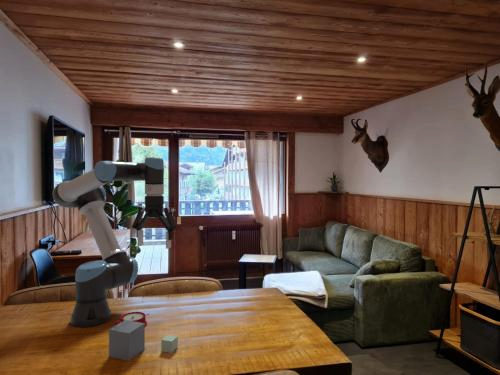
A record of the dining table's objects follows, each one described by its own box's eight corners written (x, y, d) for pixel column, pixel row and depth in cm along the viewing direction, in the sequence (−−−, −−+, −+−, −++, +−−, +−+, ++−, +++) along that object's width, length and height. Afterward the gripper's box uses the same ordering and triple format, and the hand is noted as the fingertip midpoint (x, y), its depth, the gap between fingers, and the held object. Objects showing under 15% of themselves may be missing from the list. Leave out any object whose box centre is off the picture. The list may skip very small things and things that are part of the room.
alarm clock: (153, 312, 139) (134, 318, 125) (151, 328, 138) (131, 336, 124) (130, 310, 141) (108, 315, 127) (128, 325, 140) (106, 333, 126)
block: (161, 351, 115) (161, 339, 114) (167, 345, 118) (167, 334, 118) (171, 353, 113) (171, 341, 113) (177, 347, 117) (177, 336, 117)
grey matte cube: (108, 356, 111) (108, 329, 111) (125, 345, 118) (125, 320, 118) (128, 361, 108) (129, 333, 108) (144, 349, 116) (144, 323, 115)
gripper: (123, 194, 139) (123, 246, 139) (175, 196, 130) (175, 250, 131) (135, 194, 146) (135, 243, 146) (185, 195, 138) (185, 247, 138)
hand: (154, 246), depth 139 cm, fingers open, 13 cm apart
